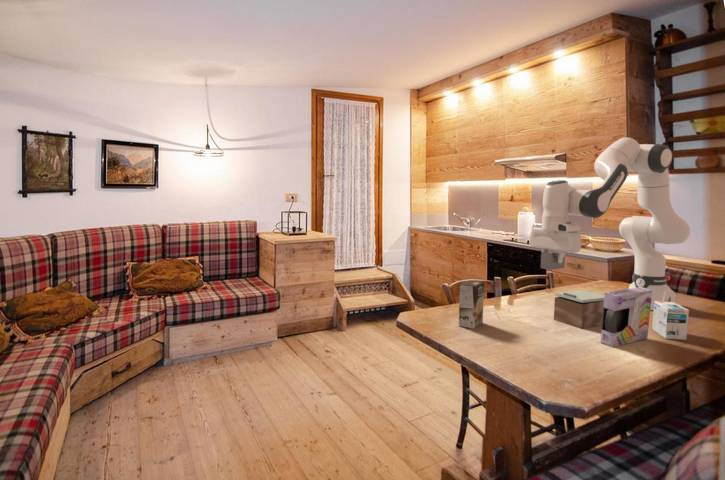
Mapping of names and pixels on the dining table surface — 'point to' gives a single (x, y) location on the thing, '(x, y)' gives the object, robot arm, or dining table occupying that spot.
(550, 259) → the block
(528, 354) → the dining table surface
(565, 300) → the crate
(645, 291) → the cake pan box
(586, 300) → the lid
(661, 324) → the light bulb box
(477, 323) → the coffee box
